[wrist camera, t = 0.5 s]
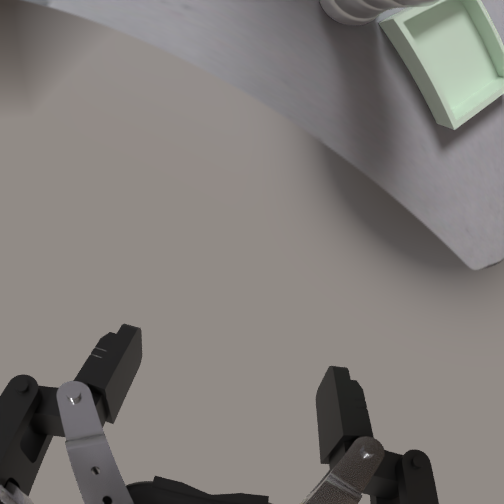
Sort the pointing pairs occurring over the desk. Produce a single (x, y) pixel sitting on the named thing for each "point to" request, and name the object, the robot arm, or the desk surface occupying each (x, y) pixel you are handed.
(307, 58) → the desk surface
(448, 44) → the green tray
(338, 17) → the plastic bottle
